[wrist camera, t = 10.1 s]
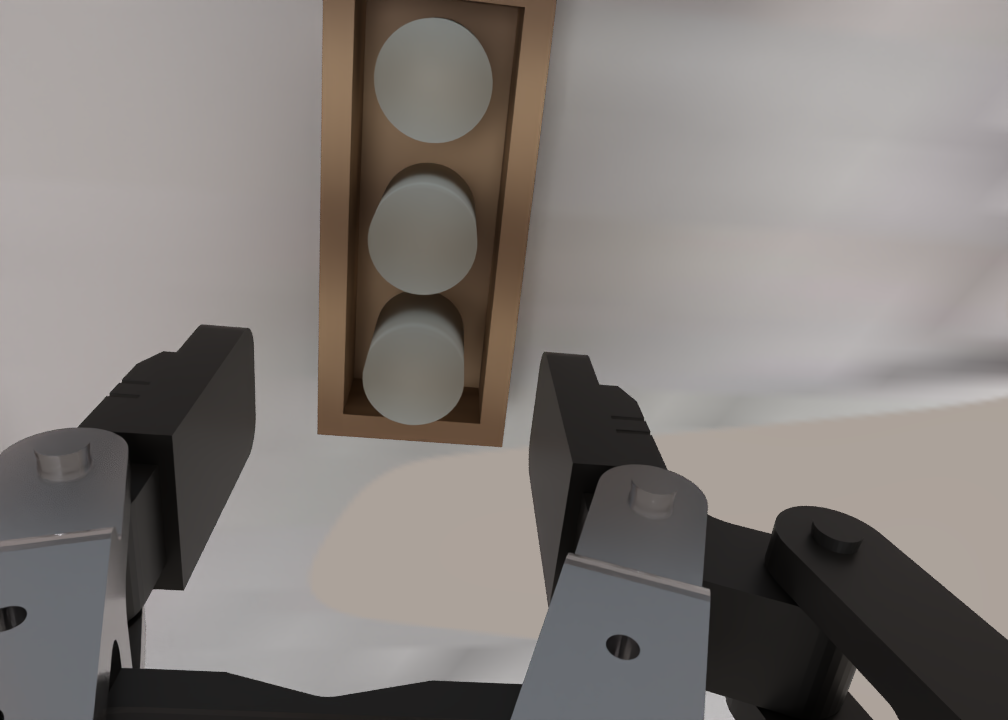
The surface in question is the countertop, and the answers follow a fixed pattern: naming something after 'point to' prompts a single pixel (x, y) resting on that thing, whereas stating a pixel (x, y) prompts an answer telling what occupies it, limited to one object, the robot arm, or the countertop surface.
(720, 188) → the countertop surface
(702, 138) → the countertop surface
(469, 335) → the tray
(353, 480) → the countertop surface
